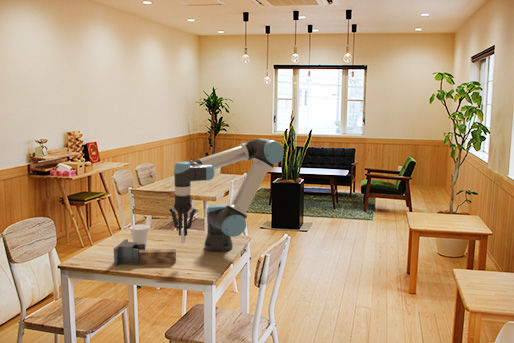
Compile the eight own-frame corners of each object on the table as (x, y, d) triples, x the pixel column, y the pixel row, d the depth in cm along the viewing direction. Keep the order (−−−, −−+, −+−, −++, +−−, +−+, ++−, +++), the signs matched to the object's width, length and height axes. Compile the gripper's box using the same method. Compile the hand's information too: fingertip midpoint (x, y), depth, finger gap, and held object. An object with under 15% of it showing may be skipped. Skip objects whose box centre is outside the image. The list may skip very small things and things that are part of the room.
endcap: (147, 256, 257) (147, 240, 256) (137, 266, 243) (136, 249, 241) (125, 255, 259) (125, 239, 257) (114, 265, 244) (113, 248, 242)
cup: (145, 250, 267) (144, 230, 265) (127, 249, 269) (126, 228, 267) (152, 244, 276) (151, 225, 274) (135, 243, 278) (134, 224, 276)
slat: (176, 260, 252) (175, 249, 251) (175, 263, 248) (175, 251, 247) (139, 261, 250) (138, 249, 249) (138, 264, 246) (137, 252, 245)
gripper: (197, 193, 245) (198, 240, 249) (171, 192, 246) (172, 239, 250) (194, 196, 237) (194, 245, 241) (167, 195, 239) (167, 243, 243)
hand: (183, 242), depth 246 cm, fingers closed
